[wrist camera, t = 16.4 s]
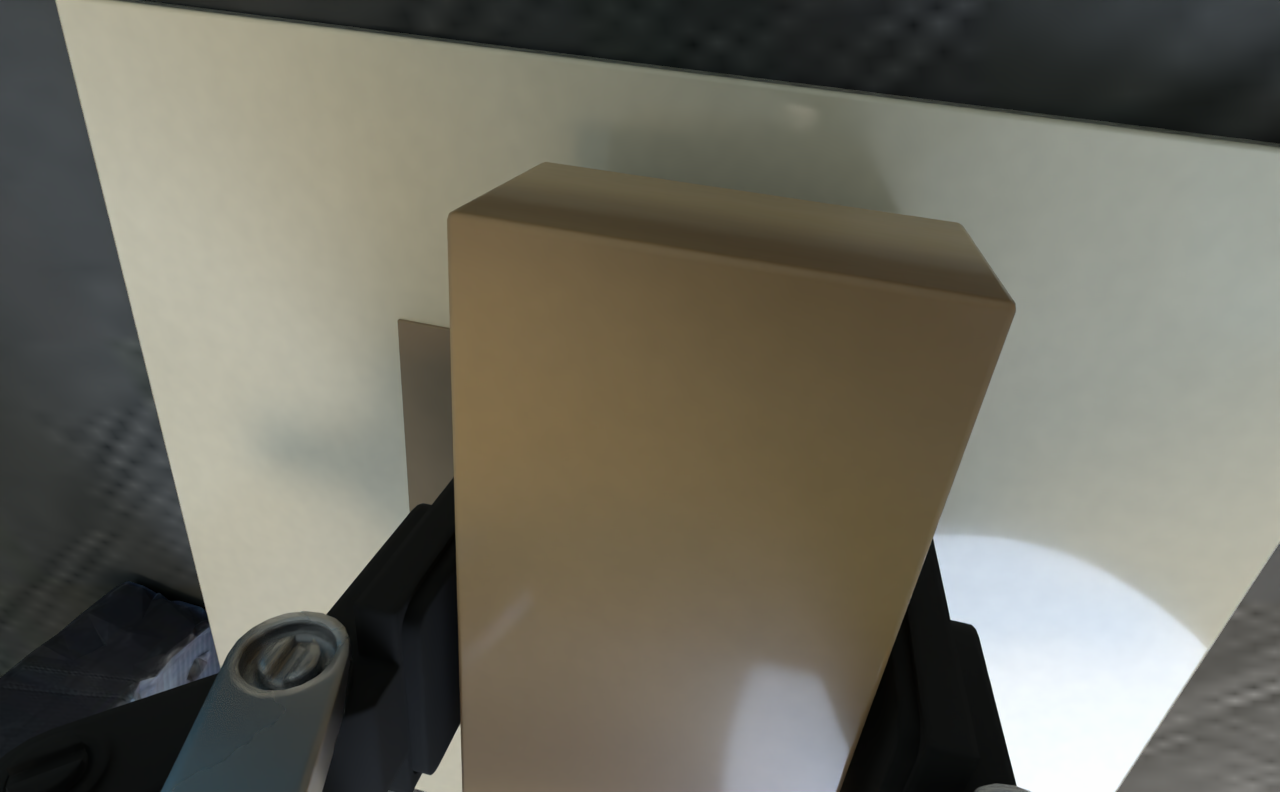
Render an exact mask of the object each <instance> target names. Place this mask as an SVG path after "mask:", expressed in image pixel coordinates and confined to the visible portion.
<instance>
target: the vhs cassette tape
mask: <svg viewBox="0 0 1280 792" xmlns="http://www.w3.org/2000/svg"><path fill="white" fill-rule="evenodd" d="M219 671H220V665H219V661H218V657H217V653H216V649H215V645H214V641H213V637H212V633H211V629H210V625H209V621H208V617H207V613H206V611H205V610H204V609H203V608H202V607H199V606H196V605H192V604H189V603H186V602H182V601H169V600H167V599H166V598H165V597H164V596H163V595H162V594H161V593H155V592H153V591H152V590H150V589H148V588H147V587H145V586H142V585H139V584H136V583H133V582H130V581H127V582H125V583H122V584H120V585H118V586H116V587H115V588H114V589H112V590H111V591H110V592H109V593H107V594H106V595H105V596H103V597H102V598H101V599H99V600H98V601H97V602H96V603H94V604H93V605H92V606H91V607H89V608H88V609H87V610H86V611H84V612H83V613H82V614H81V615H79V616H78V617H77V618H76V619H75V620H73V621H72V622H71V623H70V624H69V625H68V626H66V627H65V628H64V629H63V630H62V631H60V632H59V633H58V634H57V635H55V636H54V637H53V638H51V639H50V640H48V641H47V642H45V643H44V644H42V645H41V646H40V647H38V648H37V649H36V650H34V651H33V652H32V653H30V654H29V655H28V656H26V657H25V658H24V659H23V660H22V661H20V662H19V663H18V664H17V665H15V666H14V667H13V668H12V669H10V670H9V671H8V672H7V673H6V674H4V675H3V676H2V677H0V759H1V758H2V757H3V756H4V755H5V754H6V753H8V752H9V751H11V750H12V749H14V748H16V747H17V746H19V745H20V744H22V743H23V742H25V741H26V740H28V739H30V738H32V737H34V736H37V735H39V734H41V733H44V732H46V731H48V730H51V729H53V728H56V727H59V726H62V725H65V724H68V723H71V722H74V721H77V720H80V719H83V718H86V717H89V716H92V715H95V714H98V713H100V712H103V711H106V710H109V709H112V708H115V707H118V706H121V705H124V704H127V703H130V702H133V701H136V700H139V699H142V698H145V697H148V696H151V695H154V694H157V693H160V692H163V691H166V690H169V689H172V688H175V687H178V686H181V685H184V684H187V683H190V682H193V681H196V680H199V679H202V678H205V677H208V676H211V675H214V674H217V673H219Z"/></svg>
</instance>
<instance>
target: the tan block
mask: <svg viewBox="0 0 1280 792" xmlns="http://www.w3.org/2000/svg"><path fill="white" fill-rule="evenodd" d="M447 241H448V278H449V315H450V352H451V390H452V427H453V464H454V501H455V538H456V575H457V612H458V650H459V687H460V724H461V761H462V792H840V790H841V787H842V785H843V782H844V779H845V776H846V774H847V771H848V768H849V765H850V763H851V760H852V757H853V755H854V752H855V749H856V746H857V744H858V741H859V738H860V735H861V733H862V730H863V727H864V725H865V722H866V719H867V716H868V714H869V711H870V708H871V705H872V703H873V700H874V697H875V695H876V692H877V689H878V686H879V684H880V681H881V678H882V675H883V673H884V670H885V667H886V665H887V662H888V659H889V656H890V654H891V651H892V648H893V645H894V643H895V640H896V637H897V635H898V632H899V629H900V626H901V624H902V621H903V618H904V615H905V613H906V610H907V607H908V605H909V602H910V599H911V596H912V594H913V591H914V588H915V585H916V583H917V580H918V577H919V575H920V572H921V569H922V566H923V564H924V561H925V558H926V555H927V553H928V550H929V547H930V545H931V542H932V539H933V536H934V534H935V531H936V528H937V525H938V523H939V520H940V517H941V515H942V512H943V509H944V506H945V504H946V501H947V498H948V495H949V493H950V490H951V487H952V485H953V482H954V479H955V476H956V474H957V471H958V468H959V465H960V463H961V460H962V457H963V455H964V452H965V449H966V446H967V444H968V441H969V438H970V435H971V433H972V430H973V427H974V425H975V422H976V419H977V416H978V414H979V411H980V408H981V405H982V403H983V400H984V397H985V395H986V392H987V389H988V386H989V384H990V381H991V378H992V375H993V373H994V370H995V367H996V365H997V362H998V359H999V356H1000V354H1001V351H1002V348H1003V345H1004V343H1005V340H1006V337H1007V335H1008V332H1009V329H1010V326H1011V324H1012V321H1013V318H1014V315H1015V313H1016V303H1015V302H1014V300H1013V299H1012V297H1011V296H1010V294H1009V293H1008V291H1007V290H1006V288H1005V287H1004V285H1003V284H1002V282H1001V281H1000V280H999V278H998V277H997V275H996V274H995V272H994V271H993V269H992V268H991V266H990V265H989V263H988V262H987V260H986V259H985V257H984V256H983V254H982V253H981V251H980V250H979V248H978V247H977V246H976V244H975V243H974V241H973V240H972V238H971V237H970V235H969V234H968V232H967V231H966V229H965V228H964V226H963V225H961V224H960V223H957V222H950V221H944V220H937V219H930V218H923V217H916V216H910V215H903V214H896V213H889V212H883V211H876V210H869V209H862V208H855V207H849V206H842V205H835V204H828V203H822V202H815V201H808V200H801V199H795V198H788V197H781V196H774V195H767V194H761V193H754V192H747V191H740V190H734V189H727V188H720V187H713V186H707V185H700V184H693V183H686V182H679V181H673V180H666V179H659V178H652V177H646V176H639V175H632V174H625V173H618V172H612V171H605V170H598V169H591V168H585V167H578V166H571V165H564V164H558V163H551V162H543V163H540V164H538V165H537V166H535V167H533V168H531V169H529V170H527V171H525V172H524V173H522V174H520V175H518V176H516V177H514V178H512V179H511V180H509V181H507V182H505V183H503V184H501V185H499V186H498V187H496V188H494V189H492V190H490V191H488V192H486V193H485V194H483V195H481V196H479V197H477V198H475V199H473V200H472V201H470V202H468V203H466V204H464V205H462V206H460V207H459V208H457V209H455V210H453V211H451V212H450V213H449V215H448V218H447Z"/></svg>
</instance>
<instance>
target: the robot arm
mask: <svg viewBox="0 0 1280 792" xmlns="http://www.w3.org/2000/svg"><path fill="white" fill-rule="evenodd" d="M459 725H460V687H459V650H458V612H457V575H456V538H455V501H454V477H453V478H452V480H451V481H450V482H449V484H448V485H447V486H446V487H445V489H444V490H443V491H442V492H441V494H440V495H439V496H438V497H437V499H436V500H435V501H434V503H433V504H432V505H430V504H425V503H422V504H419V505H417V506H416V507H415V508H414V509H413V510H412V511H411V512H410V513H409V514H408V515H407V517H406V518H405V519H404V520H403V521H402V523H401V524H400V525H399V526H398V528H397V529H396V530H395V531H394V532H393V534H392V535H391V536H390V537H389V539H388V540H387V541H386V542H385V543H384V545H383V546H382V547H381V548H380V549H379V551H378V552H377V553H376V554H375V556H374V557H373V558H372V559H371V560H370V562H369V563H368V564H367V565H366V567H365V568H364V569H363V570H362V571H361V573H360V574H359V575H358V576H357V578H356V579H355V580H354V581H353V582H352V584H351V585H350V586H349V587H348V589H347V590H346V591H345V592H344V593H343V595H342V596H341V597H340V598H339V599H338V601H337V602H336V603H335V604H334V606H333V607H332V608H331V609H330V610H329V612H328V613H327V614H324V613H318V612H310V611H301V612H292V613H286V614H283V615H279V616H276V617H273V618H270V619H267V620H266V621H264V622H262V623H260V624H258V625H256V626H254V627H253V628H251V629H250V630H249V631H248V632H246V633H245V634H244V635H243V636H242V637H240V638H239V639H238V640H237V641H236V643H235V644H234V646H233V647H232V649H231V650H230V651H229V653H228V654H227V656H226V659H225V661H224V663H223V665H222V667H221V669H220V671H219V673H217V674H214V675H211V676H208V677H205V678H202V679H199V680H196V681H193V682H190V683H187V684H184V685H181V686H178V687H175V688H172V689H169V690H166V691H163V692H160V693H157V694H154V695H151V696H148V697H145V698H142V699H139V700H136V701H133V702H130V703H127V704H124V705H121V706H118V707H115V708H112V709H109V710H106V711H103V712H100V713H98V714H95V715H92V716H89V717H86V718H83V719H80V720H77V721H74V722H71V723H68V724H65V725H62V726H59V727H56V728H53V729H51V730H48V731H46V732H44V733H41V734H39V735H37V736H34V737H32V738H30V739H28V740H26V741H25V742H23V743H22V744H20V745H19V746H17V747H16V748H14V749H12V750H11V751H9V752H8V753H6V754H5V755H4V756H3V757H2V758H1V759H0V792H388V790H390V791H394V792H413V790H414V788H415V786H416V784H417V783H418V781H419V779H420V777H421V775H422V773H424V774H427V775H432V774H434V772H435V771H436V770H437V768H438V766H439V764H440V762H441V760H442V759H443V757H444V755H445V753H446V751H447V749H448V747H449V745H450V743H451V741H452V739H453V737H454V735H455V733H456V731H457V729H458V727H459ZM840 792H1031V791H1028V790H1025V789H1023V788H1020V787H1017V785H1016V781H1015V777H1014V773H1013V769H1012V765H1011V761H1010V757H1009V753H1008V749H1007V746H1006V742H1005V738H1004V734H1003V730H1002V726H1001V722H1000V718H999V714H998V710H997V706H996V702H995V698H994V694H993V690H992V686H991V682H990V678H989V675H988V671H987V667H986V663H985V659H984V655H983V651H982V647H981V643H980V639H979V636H978V633H977V631H976V629H975V628H974V626H973V625H971V624H967V623H962V622H958V621H953V620H951V619H950V615H949V610H948V605H947V601H946V596H945V591H944V587H943V582H942V577H941V573H940V568H939V563H938V559H937V554H936V549H935V545H934V540H933V539H932V542H931V545H930V547H929V550H928V553H927V555H926V558H925V561H924V564H923V566H922V569H921V572H920V575H919V577H918V580H917V583H916V585H915V588H914V591H913V594H912V596H911V599H910V602H909V605H908V607H907V610H906V613H905V615H904V618H903V621H902V624H901V626H900V629H899V632H898V635H897V637H896V640H895V643H894V645H893V648H892V651H891V654H890V656H889V659H888V662H887V665H886V667H885V670H884V673H883V675H882V678H881V681H880V684H879V686H878V689H877V692H876V695H875V697H874V700H873V703H872V705H871V708H870V711H869V714H868V716H867V719H866V722H865V725H864V727H863V730H862V733H861V735H860V738H859V741H858V744H857V746H856V749H855V752H854V755H853V757H852V760H851V763H850V765H849V768H848V771H847V774H846V776H845V779H844V782H843V785H842V787H841V790H840Z"/></svg>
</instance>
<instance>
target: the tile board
mask: <svg viewBox="0 0 1280 792" xmlns="http://www.w3.org/2000/svg"><path fill="white" fill-rule="evenodd" d="M55 2H56V6H57V10H58V14H59V19H60V23H61V27H62V31H63V35H64V39H65V43H66V47H67V51H68V55H69V59H70V63H71V67H72V71H73V75H74V79H75V83H76V87H77V91H78V95H79V99H80V103H81V107H82V111H83V116H84V120H85V124H86V128H87V132H88V136H89V140H90V144H91V148H92V152H93V156H94V160H95V164H96V168H97V172H98V176H99V180H100V184H101V188H102V192H103V196H104V200H105V204H106V208H107V213H108V217H109V221H110V225H111V229H112V233H113V237H114V241H115V245H116V249H117V253H118V257H119V261H120V265H121V269H122V273H123V277H124V281H125V285H126V289H127V293H128V297H129V301H130V305H131V310H132V314H133V318H134V322H135V326H136V330H137V334H138V338H139V342H140V346H141V350H142V354H143V358H144V362H145V366H146V370H147V374H148V378H149V382H150V386H151V390H152V394H153V398H154V402H155V406H156V411H157V415H158V419H159V423H160V427H161V431H162V435H163V439H164V443H165V447H166V451H167V455H168V459H169V463H170V467H171V471H172V475H173V479H174V483H175V487H176V491H177V495H178V499H179V503H180V508H181V512H182V516H183V520H184V524H185V528H186V532H187V536H188V540H189V544H190V548H191V552H192V556H193V560H194V564H195V568H196V572H197V576H198V580H199V584H200V588H201V592H202V596H203V600H204V605H205V609H206V613H207V617H208V621H209V625H210V629H211V633H212V637H213V641H214V645H215V649H216V653H217V657H218V661H219V665H220V669H221V667H222V665H223V663H224V661H225V659H226V656H227V654H228V653H229V651H230V650H231V649H232V647H233V646H234V644H235V643H236V641H237V640H238V639H239V638H240V637H242V636H243V635H244V634H245V633H246V632H248V631H249V630H250V629H251V628H253V627H254V626H256V625H258V624H260V623H262V622H264V621H266V620H267V619H270V618H273V617H276V616H279V615H283V614H286V613H292V612H301V611H310V612H318V613H324V614H327V613H328V612H329V610H330V609H331V608H332V607H333V606H334V604H335V603H336V602H337V601H338V599H339V598H340V597H341V596H342V595H343V593H344V592H345V591H346V590H347V589H348V587H349V586H350V585H351V584H352V582H353V581H354V580H355V579H356V578H357V576H358V575H359V574H360V573H361V571H362V570H363V569H364V568H365V567H366V565H367V564H368V563H369V562H370V560H371V559H372V558H373V557H374V556H375V554H376V553H377V552H378V551H379V549H380V548H381V547H382V546H383V545H384V543H385V542H386V541H387V540H388V539H389V537H390V536H391V535H392V534H393V532H394V531H395V530H396V529H397V528H398V526H399V525H400V524H401V523H402V521H403V520H404V519H405V518H406V517H407V515H408V514H409V513H410V512H411V511H412V510H413V509H414V508H415V507H416V506H417V505H419V504H422V503H425V504H430V505H432V504H433V503H434V501H435V500H436V499H437V497H438V496H439V495H440V494H441V492H442V491H443V490H444V489H445V487H446V486H447V485H448V484H449V482H450V481H451V480H452V478H453V477H454V464H453V427H452V390H451V352H450V315H449V278H448V241H447V218H448V215H449V213H450V212H451V211H453V210H455V209H457V208H459V207H460V206H462V205H464V204H466V203H468V202H470V201H472V200H473V199H475V198H477V197H479V196H481V195H483V194H485V193H486V192H488V191H490V190H492V189H494V188H496V187H498V186H499V185H501V184H503V183H505V182H507V181H509V180H511V179H512V178H514V177H516V176H518V175H520V174H522V173H524V172H525V171H527V170H529V169H531V168H533V167H535V166H537V165H538V164H540V163H543V162H551V163H558V164H564V165H571V166H578V167H585V168H591V169H598V170H605V171H612V172H618V173H625V174H632V175H639V176H646V177H652V178H659V179H666V180H673V181H679V182H686V183H693V184H700V185H707V186H713V187H720V188H727V189H734V190H740V191H747V192H754V193H761V194H767V195H774V196H781V197H788V198H795V199H801V200H808V201H815V202H822V203H828V204H835V205H842V206H849V207H855V208H862V209H869V210H876V211H883V212H889V213H896V214H903V215H910V216H916V217H923V218H930V219H937V220H944V221H950V222H957V223H960V224H961V225H963V226H964V228H965V229H966V231H967V232H968V234H969V235H970V237H971V238H972V240H973V241H974V243H975V244H976V246H977V247H978V248H979V250H980V251H981V253H982V254H983V256H984V257H985V259H986V260H987V262H988V263H989V265H990V266H991V268H992V269H993V271H994V272H995V274H996V275H997V277H998V278H999V280H1000V281H1001V282H1002V284H1003V285H1004V287H1005V288H1006V290H1007V291H1008V293H1009V294H1010V296H1011V297H1012V299H1013V300H1014V302H1015V303H1016V313H1015V315H1014V318H1013V321H1012V324H1011V326H1010V329H1009V332H1008V335H1007V337H1006V340H1005V343H1004V345H1003V348H1002V351H1001V354H1000V356H999V359H998V362H997V365H996V367H995V370H994V373H993V375H992V378H991V381H990V384H989V386H988V389H987V392H986V395H985V397H984V400H983V403H982V405H981V408H980V411H979V414H978V416H977V419H976V422H975V425H974V427H973V430H972V433H971V435H970V438H969V441H968V444H967V446H966V449H965V452H964V455H963V457H962V460H961V463H960V465H959V468H958V471H957V474H956V476H955V479H954V482H953V485H952V487H951V490H950V493H949V495H948V498H947V501H946V504H945V506H944V509H943V512H942V515H941V517H940V520H939V523H938V525H937V528H936V531H935V534H934V536H933V540H934V545H935V549H936V554H937V559H938V563H939V568H940V573H941V577H942V582H943V587H944V591H945V596H946V601H947V605H948V610H949V615H950V619H951V620H953V621H958V622H962V623H967V624H971V625H973V626H974V628H975V629H976V631H977V633H978V636H979V639H980V643H981V647H982V651H983V655H984V659H985V663H986V667H987V671H988V675H989V678H990V682H991V686H992V690H993V694H994V698H995V702H996V706H997V710H998V714H999V718H1000V722H1001V726H1002V730H1003V734H1004V738H1005V742H1006V746H1007V749H1008V753H1009V757H1010V761H1011V765H1012V769H1013V773H1014V777H1015V781H1016V785H1017V787H1020V788H1023V789H1025V790H1028V791H1031V792H1117V790H1118V789H1119V787H1120V786H1121V784H1122V783H1123V781H1124V780H1125V778H1126V777H1127V775H1128V774H1129V772H1130V771H1131V769H1132V768H1133V766H1134V764H1135V763H1136V761H1137V760H1138V758H1139V757H1140V755H1141V754H1142V752H1143V751H1144V749H1145V748H1146V746H1147V745H1148V743H1149V742H1150V740H1151V739H1152V737H1153V735H1154V734H1155V732H1156V731H1157V729H1158V728H1159V726H1160V725H1161V723H1162V722H1163V720H1164V719H1165V717H1166V716H1167V714H1168V713H1169V711H1170V710H1171V708H1172V706H1173V705H1174V703H1175V702H1176V700H1177V699H1178V697H1179V696H1180V694H1181V693H1182V691H1183V690H1184V688H1185V687H1186V685H1187V684H1188V682H1189V681H1190V679H1191V677H1192V676H1193V674H1194V673H1195V671H1196V670H1197V668H1198V667H1199V665H1200V664H1201V662H1202V661H1203V659H1204V658H1205V656H1206V655H1207V653H1208V652H1209V650H1210V648H1211V647H1212V645H1213V644H1214V642H1215V641H1216V639H1217V638H1218V636H1219V635H1220V633H1221V632H1222V630H1223V629H1224V627H1225V626H1226V624H1227V623H1228V621H1229V619H1230V618H1231V616H1232V615H1233V613H1234V612H1235V610H1236V609H1237V607H1238V606H1239V604H1240V603H1241V601H1242V600H1243V598H1244V597H1245V595H1246V594H1247V592H1248V590H1249V589H1250V587H1251V586H1252V584H1253V583H1254V581H1255V580H1256V578H1257V577H1258V575H1259V574H1260V572H1261V571H1262V569H1263V568H1264V566H1265V565H1266V563H1267V561H1268V560H1269V558H1270V557H1271V555H1272V554H1273V552H1274V551H1275V549H1276V548H1277V546H1278V545H1279V543H1280V144H1279V143H1271V142H1263V141H1255V140H1247V139H1239V138H1231V137H1223V136H1215V135H1207V134H1199V133H1191V132H1183V131H1175V130H1168V129H1160V128H1152V127H1144V126H1136V125H1128V124H1120V123H1112V122H1104V121H1096V120H1088V119H1080V118H1072V117H1064V116H1056V115H1048V114H1040V113H1032V112H1024V111H1016V110H1008V109H1000V108H992V107H985V106H977V105H969V104H961V103H953V102H945V101H937V100H929V99H921V98H913V97H905V96H897V95H889V94H881V93H873V92H865V91H857V90H849V89H841V88H833V87H825V86H817V85H810V84H802V83H794V82H786V81H778V80H770V79H762V78H754V77H746V76H738V75H730V74H722V73H714V72H706V71H698V70H690V69H682V68H674V67H666V66H658V65H650V64H642V63H634V62H627V61H619V60H611V59H603V58H595V57H587V56H579V55H571V54H563V53H555V52H547V51H539V50H531V49H523V48H515V47H507V46H499V45H491V44H483V43H475V42H467V41H459V40H452V39H444V38H436V37H428V36H420V35H412V34H404V33H396V32H388V31H380V30H372V29H364V28H356V27H348V26H340V25H332V24H324V23H316V22H308V21H300V20H292V19H284V18H276V17H269V16H261V15H253V14H245V13H237V12H229V11H221V10H213V9H205V8H197V7H189V6H181V5H173V4H165V3H157V2H149V1H141V0H55ZM414 789H417V790H421V791H425V792H462V761H461V724H460V725H459V727H458V729H457V731H456V733H455V735H454V737H453V739H452V741H451V743H450V745H449V747H448V749H447V751H446V753H445V755H444V757H443V759H442V760H441V762H440V764H439V766H438V768H437V770H436V771H435V772H434V774H432V775H427V774H424V773H422V775H421V777H420V779H419V781H418V783H417V784H416V786H415V788H414Z"/></svg>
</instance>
